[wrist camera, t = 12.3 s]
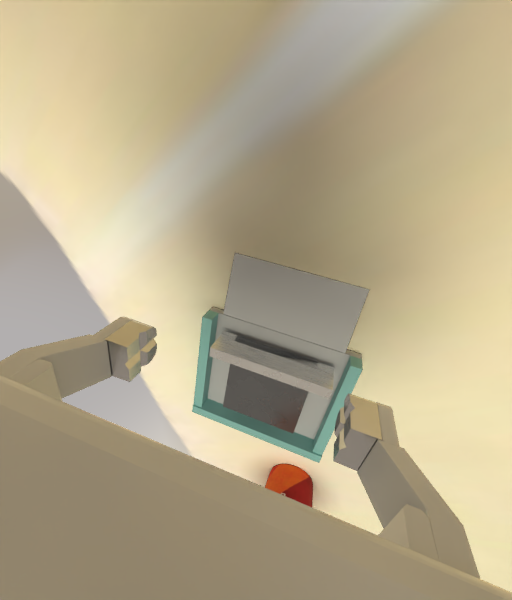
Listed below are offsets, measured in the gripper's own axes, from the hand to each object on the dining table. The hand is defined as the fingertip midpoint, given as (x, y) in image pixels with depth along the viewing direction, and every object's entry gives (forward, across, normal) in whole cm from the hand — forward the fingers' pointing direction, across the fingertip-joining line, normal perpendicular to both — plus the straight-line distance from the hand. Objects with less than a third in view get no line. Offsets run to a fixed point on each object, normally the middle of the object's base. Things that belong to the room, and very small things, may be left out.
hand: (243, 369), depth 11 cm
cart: (+13, 0, +13) cm, 18 cm away
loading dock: (+15, 0, +10) cm, 18 cm away
